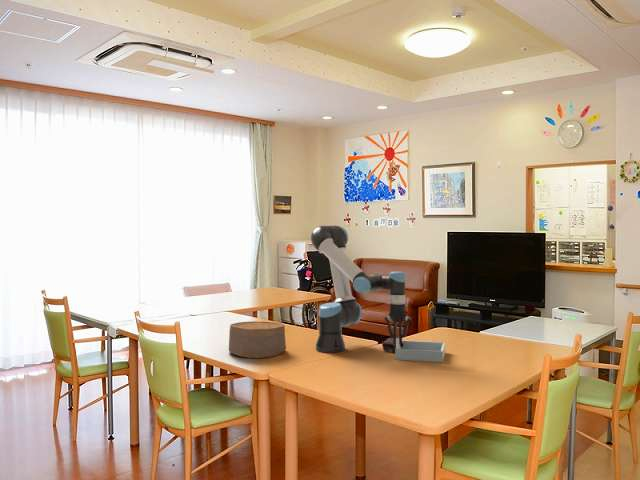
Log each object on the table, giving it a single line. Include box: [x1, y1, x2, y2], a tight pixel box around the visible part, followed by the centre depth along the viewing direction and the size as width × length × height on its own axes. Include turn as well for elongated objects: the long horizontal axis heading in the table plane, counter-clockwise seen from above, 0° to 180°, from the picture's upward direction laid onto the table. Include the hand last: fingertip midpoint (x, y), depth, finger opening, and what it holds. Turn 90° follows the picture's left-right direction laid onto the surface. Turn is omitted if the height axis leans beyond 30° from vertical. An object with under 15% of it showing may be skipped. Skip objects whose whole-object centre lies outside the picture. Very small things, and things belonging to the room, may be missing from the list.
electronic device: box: [381, 337, 403, 353], centre depth 275 cm, size 4×10×8 cm
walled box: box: [394, 340, 446, 363], centre depth 264 cm, size 22×20×5 cm
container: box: [228, 321, 287, 359], centre depth 272 cm, size 28×28×15 cm
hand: (398, 351), depth 267 cm, fingers closed
